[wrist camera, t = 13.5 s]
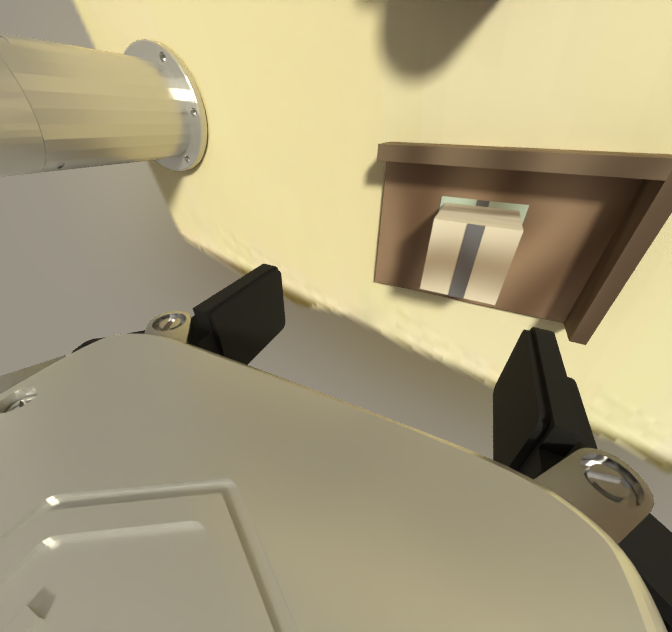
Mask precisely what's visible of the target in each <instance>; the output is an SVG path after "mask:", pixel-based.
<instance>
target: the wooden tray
mask: <svg viewBox="0 0 672 632" xmlns="http://www.w3.org/2000/svg"><path fill="white" fill-rule="evenodd" d="M377 161H387V166H386V176H385V185H384V195H383V205H382V215H381V225H380V235H379V245H378V255H377V265H376V275H375V282H380V283H384V284H389V285H393V286H398V287H403V288H407V289H412V290H416V291H421V292H425V293H430V294H434V295H439V296H443V297H448V298H452V299H457V300H461V301H466V302H471V303H475V304H480V305H484V306H489V307H493V308H498V309H502V310H507V311H511V312H516V313H520V314H525V315H529V316H534V317H538V318H543V319H548V320H552V321H557V322H561V323H564V326H565V329H566V332H567V336H568V339H569V341H571V342H575V343H580V344H584V345H586V344H587V342H588V341H589V339H590V338H591V336H592V335H593V333H594V332H595V330H596V328H597V327H598V325H599V324H600V322H601V321H602V319H603V318H604V316H605V315H606V313H607V311H608V310H609V308H610V307H611V305H612V304H613V302H614V301H615V299H616V298H617V296H618V295H619V293H620V291H621V290H622V288H623V287H624V285H625V284H626V282H627V281H628V279H629V278H630V276H631V274H632V273H633V271H634V270H635V268H636V267H637V265H638V264H639V262H640V261H641V259H642V257H643V256H644V254H645V253H646V251H647V250H648V248H649V247H650V245H651V244H652V242H653V240H654V239H655V237H656V236H657V234H658V233H659V231H660V230H661V228H662V227H663V225H664V224H665V222H666V220H667V219H668V217H669V216H670V214H671V213H672V155H671V154H648V153H626V152H604V151H582V150H560V149H538V148H516V147H494V146H472V145H450V144H428V143H406V142H387V143H382V144H378V154H377ZM445 202H446V203H455V204H464V205H473V206H481V207H490V208H499V209H508V210H516V211H519V212H520V217H521V222H522V226H523V234H522V236H521V239H520V241H519V244H518V247H517V249H516V252H515V254H514V257H513V260H512V262H511V265H510V267H509V270H508V273H507V275H506V278H505V280H504V283H503V286H502V288H501V291H500V293H499V296H498V299H497V301H496V304H495V305H492V304H487V303H482V302H478V301H473V300H469V299H464V298H463V299H462V298H457V297H453V296H448V295H446V294H442V293H437V292H432V291H428V290H423V289H420V285H421V281H422V276H423V271H424V266H425V261H426V256H427V251H428V246H429V241H430V237H431V232H432V227H433V222H434V218H435V217H436V215H437V214H438V213H439V211H440V210H441V208H442V207H443V205H444V204H445Z"/></svg>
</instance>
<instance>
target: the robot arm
mask: <svg viewBox="0 0 672 632" xmlns="http://www.w3.org/2000/svg"><path fill="white" fill-rule="evenodd" d="M206 142H207V121H206V115H205V109H204V106H203V102H202V99H201V95H200V93H199V90H198V88H197V86H196V83H195V81H194V79H193V78H192V76H191V74H190V72H189V70H188V69H187V68H186V66H185V65H184V63H183V62H182V61H181V59H180V58H179V57H178V56H177V55H176V54H175V53H174V52H173V51H172V50H170V49H169V48H167V47H166V46H165V45H163V44H160V43H158V42H155V41H150V40H145V39H143V40H136V41H135V42H133V43H131V44H130V45H129V46H128V48H127V49H126V50H125V52H124V54H118V53H112V52H107V51H101V50H96V49H90V48H84V47H79V46H73V45H68V44H62V43H56V42H51V41H45V40H39V39H34V38H28V37H22V36H17V35H11V34H6V33H0V177H5V176H14V175H22V174H32V173H39V172H48V171H58V170H66V169H76V168H84V167H93V166H103V165H112V164H121V163H130V162H139V161H148V160H155V161H156V162H157V163H159V164H160V165H161V166H163V167H165V168H167V169H169V170H173V171H185V170H190V169H192V168H193V167H195V166H196V165H197V164H198V163H199V162H200V161H201V159H202V157H203V155H204V152H205V148H206ZM193 311H194V313H195V316H193V317H192V318H191V316H190V315H189V314H188V313H187V312H184V311H170V312H166V313H163V314H160V315H158V316H156V317H154V318H153V319H152V320H151V321H150V322H149V323H148V325H147V327H146V330H144V331H139V332H133V333H127V334H120V335H113V336H108V337H105V338H99V339H92V340H89V341H86V342H84V343H83V344H82V345H81V346H79V347H78V348H76V349H75V350H74V351H73V352H72V353H71V354H70V355H68V356H65V355H64V356H61V357H58V358H55V359H52V360H49V361H46V362H43V363H40V364H36V365H33V366H30V367H27V368H24V369H21V370H18V371H15V372H12V373H8V374H5V375H2V376H0V632H672V532H670V531H669V530H668V529H667V528H666V527H665V526H664V525H663V524H662V523H660V522H659V521H658V520H657V519H656V518H654V516H652V515H651V514H650V512H651V511H652V509H653V507H654V498H653V494H652V492H651V490H650V488H649V487H648V485H647V483H646V482H645V481H644V480H643V479H642V477H641V476H640V475H639V474H638V473H637V472H636V471H635V470H634V469H632V468H631V467H630V466H629V465H628V464H626V463H625V462H623V461H622V460H620V459H619V458H617V457H616V456H614V455H611V454H609V453H607V452H605V451H602V450H598V449H597V446H596V443H595V440H594V437H593V434H592V431H591V427H590V424H589V421H588V418H587V415H586V412H585V409H584V406H583V403H582V399H581V396H580V393H579V390H578V387H577V384H576V382H575V380H574V379H572V378H569V377H567V374H566V371H565V368H564V364H563V361H562V357H561V354H560V351H559V347H558V344H557V340H556V337H555V334H554V332H552V331H548V330H544V329H539V328H535V327H532V328H531V329H530V331H529V330H523V332H522V333H521V335H520V337H519V339H518V341H517V343H516V345H515V347H514V349H513V351H512V353H511V355H510V357H509V359H508V361H507V363H506V365H505V367H504V369H503V371H502V373H501V375H500V377H499V379H498V381H497V383H496V385H495V388H494V392H493V450H494V451H493V454H494V455H493V460H492V459H489V458H487V457H485V456H482V455H480V454H477V453H475V452H473V451H471V450H468V449H466V448H463V447H461V446H458V445H456V444H453V443H451V442H448V441H446V440H443V439H440V438H438V437H435V436H433V435H430V434H428V433H425V432H423V431H420V430H418V429H415V428H412V427H410V426H407V425H405V424H402V423H399V422H397V421H394V420H391V419H389V418H386V417H383V416H381V415H378V414H376V413H373V412H371V411H368V410H365V409H363V408H360V407H357V406H355V405H352V404H350V403H347V402H344V401H342V400H339V399H336V398H333V397H331V396H328V395H326V394H323V393H320V392H318V391H315V390H312V389H310V388H307V387H305V386H301V385H299V384H296V383H294V382H291V381H289V380H286V379H283V378H281V377H278V376H275V375H272V374H270V373H267V372H264V371H262V370H259V369H256V368H254V367H251V366H248V364H249V363H250V361H251V360H253V358H255V356H256V355H258V353H260V351H261V350H262V349H263V348H264V347H265V346H266V345H267V344H268V343H269V342H270V341H271V340H272V339H273V338H274V337H275V336H276V335H277V334H278V333H279V332H280V331H281V330H282V329H283V328H284V326H285V312H284V301H283V289H282V278H281V272H280V271H278V268H277V267H276V266H271V265H267V264H262V265H260V266H259V267H257V268H256V269H254V270H253V271H251V272H249V273H248V274H246V275H245V276H243V277H242V278H240V279H238V280H237V281H235V282H234V283H232V284H231V285H229V286H227V287H226V288H224V289H223V290H221V291H219V292H218V293H216V294H215V295H213V296H211V297H210V298H208V299H207V300H205V301H204V302H202V303H200V304H199V305H197V306H196V307H194V308H193Z"/></svg>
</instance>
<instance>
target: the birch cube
mask: <svg viewBox="0 0 672 632" xmlns="http://www.w3.org/2000/svg"><path fill="white" fill-rule="evenodd" d="M522 234H523V226H522V222H521V217H520V212H519V211H516V210H508V209H499V208H490V207H481V206H473V205H464V204H455V203H446V202H445V204H444V205H443V207H442V208H441V210H440V211H439V213H438V214H437V215H436V217H435V218H434V222H433V227H432V232H431V237H430V241H429V246H428V251H427V256H426V261H425V266H424V271H423V276H422V281H421V285H420V289H423V290H428V291H432V292H437V293H442V294H446V295H448V296H453V297H457V298H462V299H463V298H464V299H469V300H473V301H478V302H482V303H487V304H492V305H495V304H496V301H497V299H498V296H499V293H500V291H501V288H502V286H503V283H504V280H505V278H506V275H507V273H508V270H509V267H510V265H511V262H512V260H513V257H514V254H515V252H516V249H517V247H518V244H519V241H520V239H521V236H522Z"/></svg>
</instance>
